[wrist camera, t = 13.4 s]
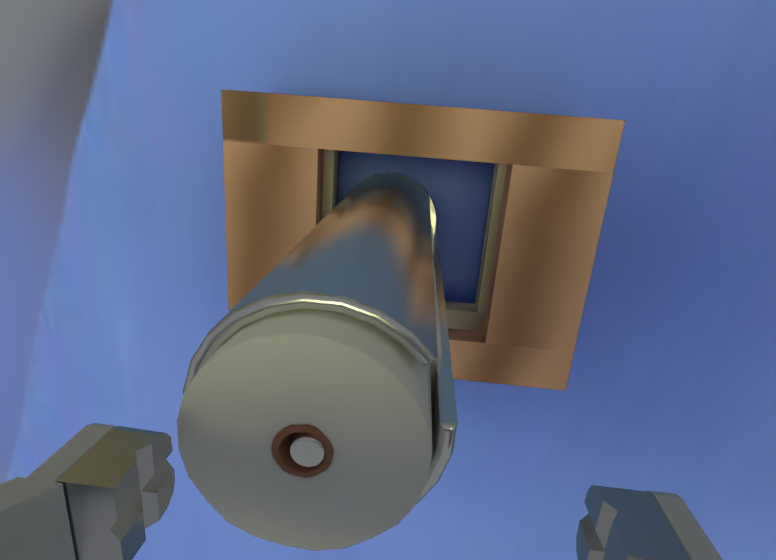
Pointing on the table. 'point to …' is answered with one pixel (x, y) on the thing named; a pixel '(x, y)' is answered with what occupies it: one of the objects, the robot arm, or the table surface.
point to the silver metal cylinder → (329, 380)
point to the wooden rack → (504, 221)
